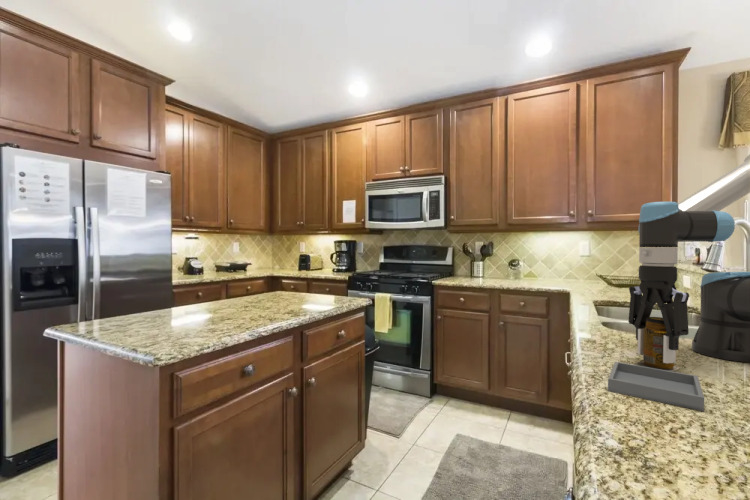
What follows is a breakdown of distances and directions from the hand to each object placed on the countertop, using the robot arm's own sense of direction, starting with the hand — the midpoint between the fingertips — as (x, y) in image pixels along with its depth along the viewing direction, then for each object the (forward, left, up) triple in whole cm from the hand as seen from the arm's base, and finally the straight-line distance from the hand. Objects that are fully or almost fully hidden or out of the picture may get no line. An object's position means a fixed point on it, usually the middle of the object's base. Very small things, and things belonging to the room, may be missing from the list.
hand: (655, 358), depth 90 cm
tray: (+14, +12, -2) cm, 19 cm away
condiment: (0, 0, -2) cm, 2 cm away
